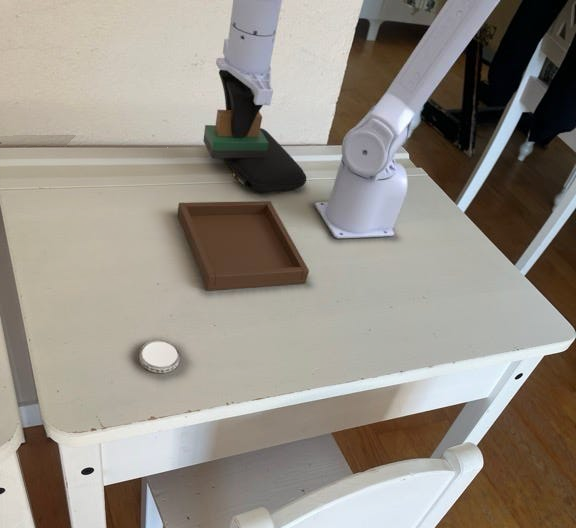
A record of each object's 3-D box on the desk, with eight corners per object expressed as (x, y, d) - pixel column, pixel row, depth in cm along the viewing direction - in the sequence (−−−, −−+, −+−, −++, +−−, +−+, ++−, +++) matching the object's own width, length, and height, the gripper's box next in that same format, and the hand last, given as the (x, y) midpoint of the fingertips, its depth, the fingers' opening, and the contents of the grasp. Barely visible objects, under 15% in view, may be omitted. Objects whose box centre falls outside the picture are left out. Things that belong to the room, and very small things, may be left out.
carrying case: (200, 145, 93) (245, 201, 86) (202, 126, 91) (249, 182, 84) (261, 140, 98) (309, 192, 91) (265, 122, 96) (314, 174, 89)
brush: (203, 141, 88) (207, 103, 84) (255, 142, 91) (262, 106, 87) (211, 158, 86) (216, 120, 82) (265, 158, 89) (272, 122, 85)
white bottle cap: (152, 338, 65) (153, 334, 65) (186, 354, 65) (187, 350, 64) (131, 361, 62) (131, 357, 62) (166, 378, 62) (166, 374, 61)
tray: (267, 214, 85) (270, 200, 84) (305, 283, 77) (309, 270, 75) (177, 216, 80) (178, 202, 79) (207, 291, 72) (209, 276, 70)
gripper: (206, 0, 79) (195, 104, 89) (240, 50, 71) (224, 158, 81) (258, 5, 82) (242, 106, 92) (296, 54, 74) (274, 159, 83)
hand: (237, 131), depth 86 cm, fingers closed on brush
